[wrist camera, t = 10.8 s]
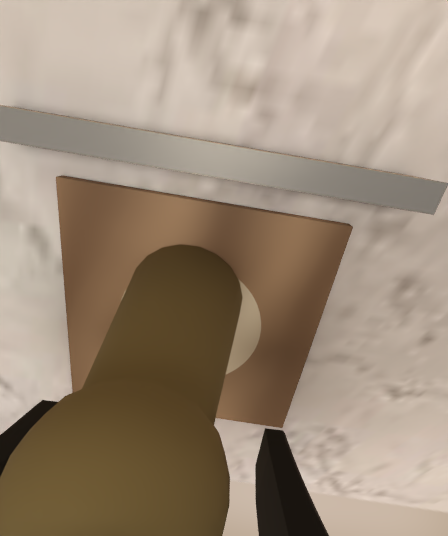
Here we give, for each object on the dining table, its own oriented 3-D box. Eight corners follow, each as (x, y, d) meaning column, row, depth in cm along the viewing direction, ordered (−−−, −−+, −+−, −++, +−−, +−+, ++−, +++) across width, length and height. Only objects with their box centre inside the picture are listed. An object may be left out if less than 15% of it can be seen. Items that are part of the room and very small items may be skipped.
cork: (224, 354, 17) (204, 671, 7) (122, 328, 16) (-60, 623, 6) (257, 263, 14) (301, 545, 4) (139, 229, 14) (-114, 456, 4)
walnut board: (349, 224, 14) (353, 227, 13) (281, 421, 20) (282, 429, 19) (62, 175, 14) (54, 177, 13) (77, 389, 19) (72, 397, 19)
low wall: (411, 176, 13) (448, 183, 11) (400, 202, 13) (433, 214, 11) (12, 106, 13) (-38, 99, 10) (15, 136, 13) (-32, 135, 11)
